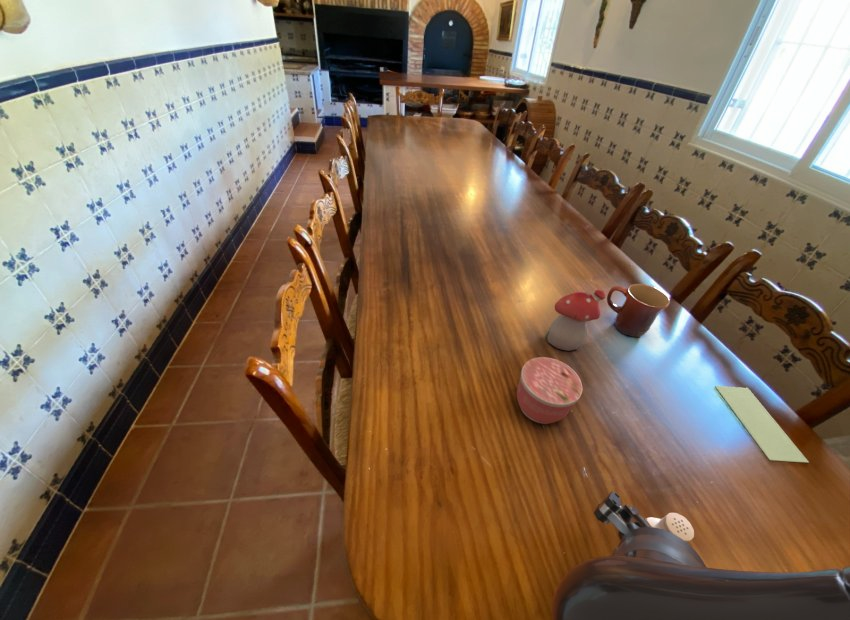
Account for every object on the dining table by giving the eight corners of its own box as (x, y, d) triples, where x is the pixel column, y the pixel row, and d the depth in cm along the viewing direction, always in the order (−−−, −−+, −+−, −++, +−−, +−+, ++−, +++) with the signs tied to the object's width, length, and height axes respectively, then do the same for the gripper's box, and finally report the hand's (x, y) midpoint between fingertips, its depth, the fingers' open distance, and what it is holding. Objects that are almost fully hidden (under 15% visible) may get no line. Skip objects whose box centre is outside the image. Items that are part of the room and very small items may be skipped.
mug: (651, 326, 88) (672, 293, 81) (644, 346, 82) (667, 313, 75) (601, 306, 93) (617, 274, 86) (592, 324, 87) (609, 290, 80)
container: (537, 440, 62) (551, 414, 57) (500, 395, 69) (509, 368, 64) (579, 416, 66) (595, 390, 61) (540, 376, 73) (552, 349, 68)
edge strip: (808, 462, 62) (809, 462, 62) (769, 460, 62) (770, 460, 62) (747, 388, 74) (748, 387, 74) (714, 386, 74) (715, 385, 74)
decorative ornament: (584, 339, 83) (610, 287, 73) (583, 358, 78) (611, 305, 68) (543, 327, 85) (563, 275, 75) (540, 346, 80) (562, 293, 70)
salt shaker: (655, 539, 51) (692, 513, 45) (663, 572, 48) (703, 549, 42) (626, 531, 52) (658, 504, 46) (631, 563, 49) (667, 539, 43)
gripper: (797, 657, 25) (753, 587, 38) (616, 482, 34) (630, 473, 46) (718, 723, 26) (701, 633, 39) (562, 537, 35) (590, 513, 47)
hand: (662, 546), depth 42 cm, fingers open, 8 cm apart
